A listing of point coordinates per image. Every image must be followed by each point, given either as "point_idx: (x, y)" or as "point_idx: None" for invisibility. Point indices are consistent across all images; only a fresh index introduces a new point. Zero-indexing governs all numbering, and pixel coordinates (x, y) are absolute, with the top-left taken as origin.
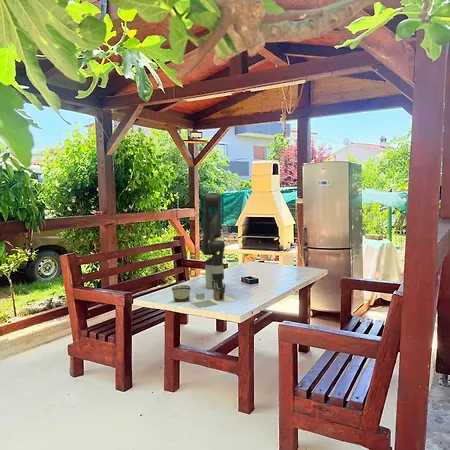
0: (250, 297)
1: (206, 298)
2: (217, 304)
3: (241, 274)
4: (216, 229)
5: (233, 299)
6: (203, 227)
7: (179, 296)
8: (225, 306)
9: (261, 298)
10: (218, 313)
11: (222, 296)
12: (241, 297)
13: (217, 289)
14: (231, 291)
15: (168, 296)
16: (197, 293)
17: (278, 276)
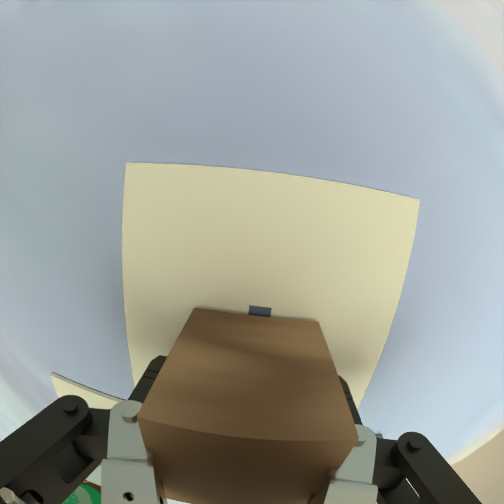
0: (427, 8)
1: (108, 398)
2: (382, 438)
3: None
4: None
5: (406, 210)
6: None
7: None
8: (458, 399)
9: (491, 15)
10: (468, 453)
11: (350, 400)
12: (368, 44)
13: (180, 474)
14: (48, 22)
15: (3, 423)
16: (90, 480)
17: None
